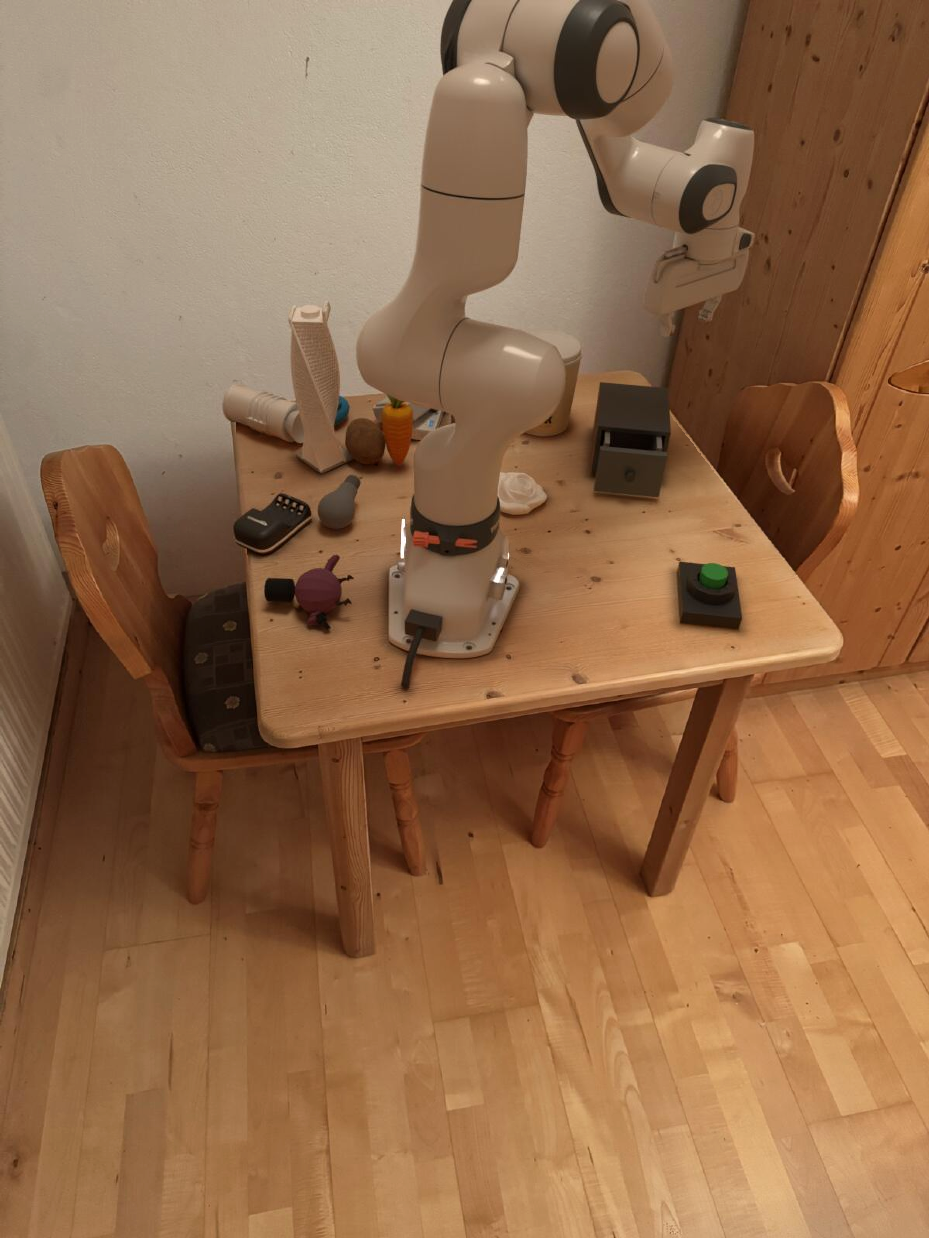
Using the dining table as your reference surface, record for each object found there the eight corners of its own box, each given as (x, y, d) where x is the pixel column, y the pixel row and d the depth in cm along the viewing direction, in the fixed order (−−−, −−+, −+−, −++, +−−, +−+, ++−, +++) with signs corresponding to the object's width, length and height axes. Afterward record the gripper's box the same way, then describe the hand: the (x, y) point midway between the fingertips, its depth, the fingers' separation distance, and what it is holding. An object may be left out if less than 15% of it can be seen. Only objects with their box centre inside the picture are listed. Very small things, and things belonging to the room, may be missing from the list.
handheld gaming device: (409, 400, 150) (415, 422, 151) (450, 372, 160) (456, 392, 162) (367, 405, 154) (373, 426, 156) (410, 377, 165) (416, 396, 167)
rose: (486, 458, 144) (546, 458, 144) (485, 480, 147) (543, 481, 147) (488, 493, 136) (551, 494, 136) (486, 517, 139) (548, 518, 139)
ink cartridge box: (445, 399, 161) (392, 393, 162) (434, 430, 153) (379, 424, 154) (444, 411, 163) (392, 405, 164) (434, 443, 155) (379, 436, 156)
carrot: (377, 467, 149) (373, 385, 138) (396, 454, 152) (394, 374, 141) (400, 477, 147) (398, 395, 136) (419, 465, 150) (418, 383, 139)
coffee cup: (497, 428, 159) (502, 349, 149) (526, 400, 166) (532, 323, 156) (557, 446, 155) (566, 367, 145) (583, 417, 162) (594, 339, 152)
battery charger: (312, 500, 135) (262, 538, 128) (314, 520, 137) (265, 559, 130) (277, 485, 137) (225, 522, 130) (279, 505, 140) (229, 543, 133)
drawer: (658, 502, 142) (667, 460, 137) (593, 495, 143) (599, 454, 137) (656, 452, 153) (664, 412, 147) (595, 447, 153) (601, 406, 148)
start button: (726, 590, 122) (729, 581, 121) (699, 587, 123) (702, 578, 121) (724, 574, 125) (726, 564, 124) (698, 571, 125) (700, 561, 124)
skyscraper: (360, 462, 149) (349, 299, 130) (321, 480, 145) (304, 315, 126) (329, 441, 154) (315, 281, 135) (290, 458, 149) (270, 296, 130)
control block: (738, 629, 122) (745, 608, 119) (679, 623, 123) (685, 601, 120) (731, 578, 130) (738, 557, 127) (676, 572, 130) (681, 551, 128)
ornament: (324, 416, 152) (282, 397, 156) (327, 438, 155) (287, 419, 160) (356, 394, 156) (315, 376, 161) (359, 417, 160) (319, 398, 164)
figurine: (262, 628, 120) (348, 632, 118) (253, 574, 116) (342, 577, 115) (281, 602, 127) (363, 605, 125) (274, 550, 123) (358, 553, 122)
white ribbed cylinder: (294, 453, 151) (227, 429, 157) (319, 431, 155) (252, 408, 161) (286, 420, 146) (217, 397, 152) (311, 398, 150) (243, 375, 156)
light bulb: (378, 488, 139) (351, 535, 134) (351, 491, 142) (324, 537, 137) (360, 462, 135) (331, 510, 130) (333, 465, 138) (304, 512, 133)
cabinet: (660, 483, 148) (671, 432, 141) (590, 476, 148) (597, 425, 142) (658, 436, 158) (668, 387, 152) (592, 430, 159) (599, 381, 152)
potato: (337, 415, 149) (343, 446, 154) (347, 445, 142) (352, 478, 147) (376, 407, 150) (381, 439, 154) (387, 438, 143) (391, 470, 148)
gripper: (675, 259, 127) (657, 351, 136) (762, 233, 137) (740, 320, 146) (642, 246, 130) (626, 337, 139) (729, 221, 140) (709, 307, 149)
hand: (685, 328), depth 143 cm, fingers open, 8 cm apart
